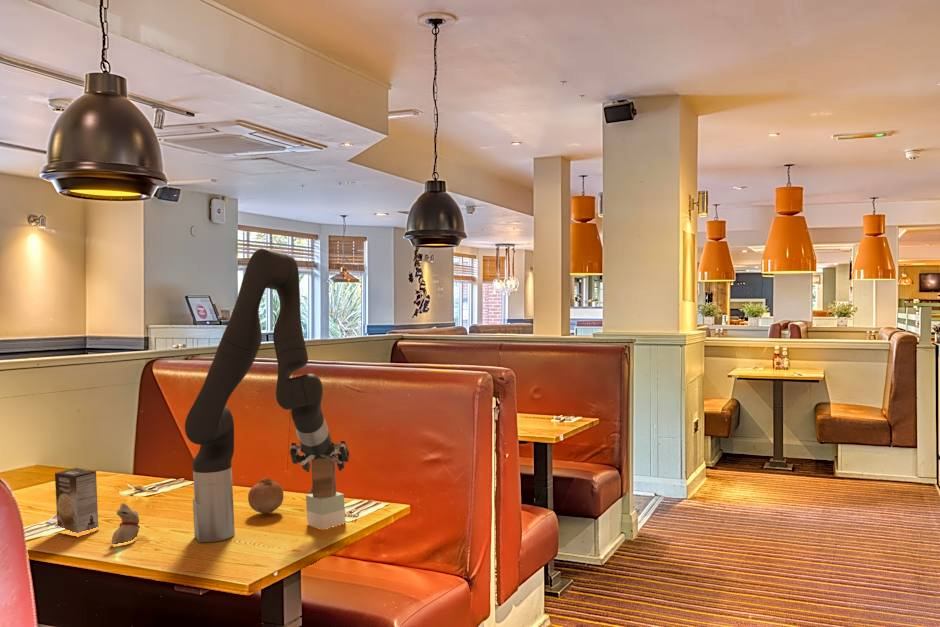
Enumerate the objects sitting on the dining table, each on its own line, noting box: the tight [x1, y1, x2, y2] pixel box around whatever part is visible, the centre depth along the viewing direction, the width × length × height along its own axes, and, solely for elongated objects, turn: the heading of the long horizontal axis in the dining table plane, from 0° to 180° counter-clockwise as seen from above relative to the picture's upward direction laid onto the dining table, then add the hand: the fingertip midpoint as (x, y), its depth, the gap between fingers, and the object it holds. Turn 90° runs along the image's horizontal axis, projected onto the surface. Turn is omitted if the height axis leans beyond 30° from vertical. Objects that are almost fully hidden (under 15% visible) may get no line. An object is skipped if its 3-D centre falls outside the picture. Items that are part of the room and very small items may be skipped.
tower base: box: [306, 509, 346, 530], centre depth 205 cm, size 7×7×4 cm
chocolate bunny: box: [111, 502, 141, 544], centre depth 196 cm, size 6×8×10 cm
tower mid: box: [305, 491, 346, 515], centre depth 205 cm, size 7×7×4 cm
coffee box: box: [54, 467, 99, 533], centre depth 206 cm, size 9×6×16 cm
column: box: [310, 455, 337, 497], centre depth 204 cm, size 5×5×10 cm
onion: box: [247, 477, 284, 515], centre depth 216 cm, size 10×9×10 cm
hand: (324, 468), depth 205 cm, fingers open, 8 cm apart
